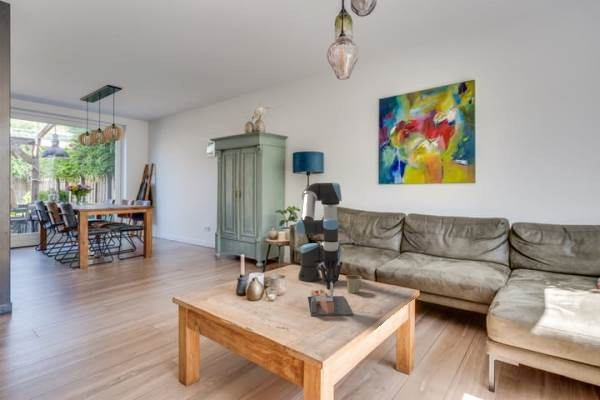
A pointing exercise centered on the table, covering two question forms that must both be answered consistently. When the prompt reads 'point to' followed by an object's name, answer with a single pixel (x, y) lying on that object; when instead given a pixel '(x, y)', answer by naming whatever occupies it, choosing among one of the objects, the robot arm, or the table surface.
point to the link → (326, 305)
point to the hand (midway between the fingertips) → (330, 295)
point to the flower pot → (353, 283)
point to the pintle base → (339, 306)
